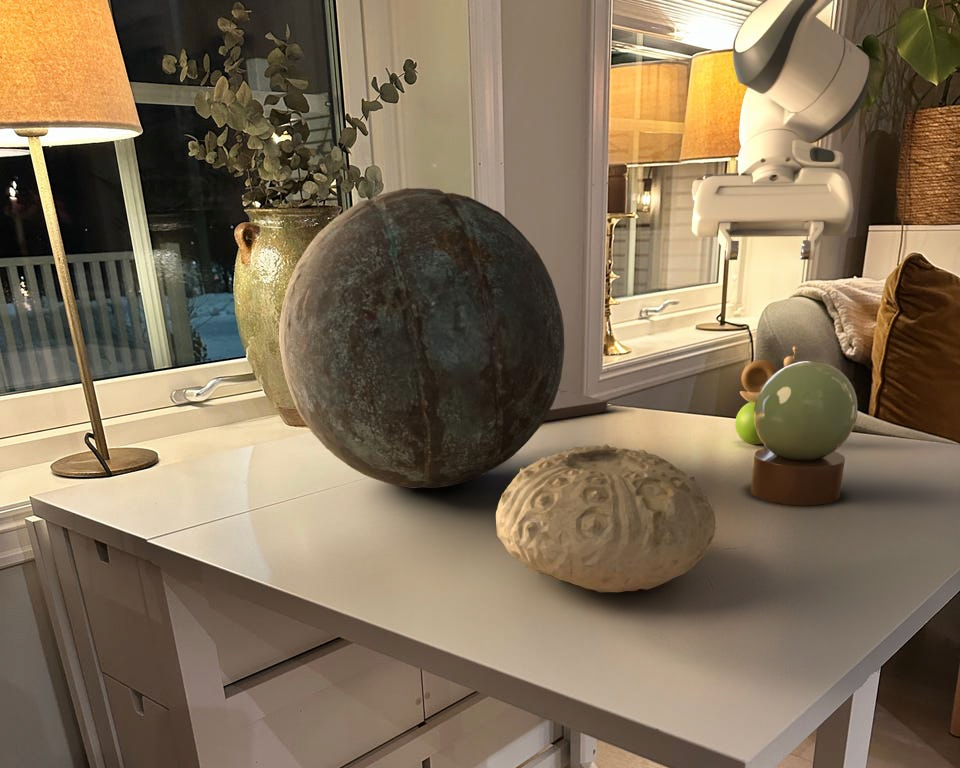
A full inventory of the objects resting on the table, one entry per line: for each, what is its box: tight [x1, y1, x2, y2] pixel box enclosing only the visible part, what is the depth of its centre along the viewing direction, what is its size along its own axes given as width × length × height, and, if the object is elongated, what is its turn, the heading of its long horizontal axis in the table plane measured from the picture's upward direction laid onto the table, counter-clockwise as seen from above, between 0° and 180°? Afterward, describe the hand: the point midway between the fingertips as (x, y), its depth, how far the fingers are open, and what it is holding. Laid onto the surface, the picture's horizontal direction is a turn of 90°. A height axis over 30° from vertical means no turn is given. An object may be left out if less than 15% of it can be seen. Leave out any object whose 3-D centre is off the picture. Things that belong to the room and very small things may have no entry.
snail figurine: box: [734, 345, 798, 445], centre depth 114 cm, size 5×6×12 cm
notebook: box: [543, 388, 608, 422], centre depth 136 cm, size 13×2×21 cm
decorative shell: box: [495, 443, 716, 593], centre depth 75 cm, size 18×18×10 cm
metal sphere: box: [278, 187, 565, 489], centre depth 97 cm, size 30×30×30 cm
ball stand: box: [750, 360, 859, 506], centre depth 94 cm, size 10×10×14 cm
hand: (769, 256), depth 118 cm, fingers open, 8 cm apart
